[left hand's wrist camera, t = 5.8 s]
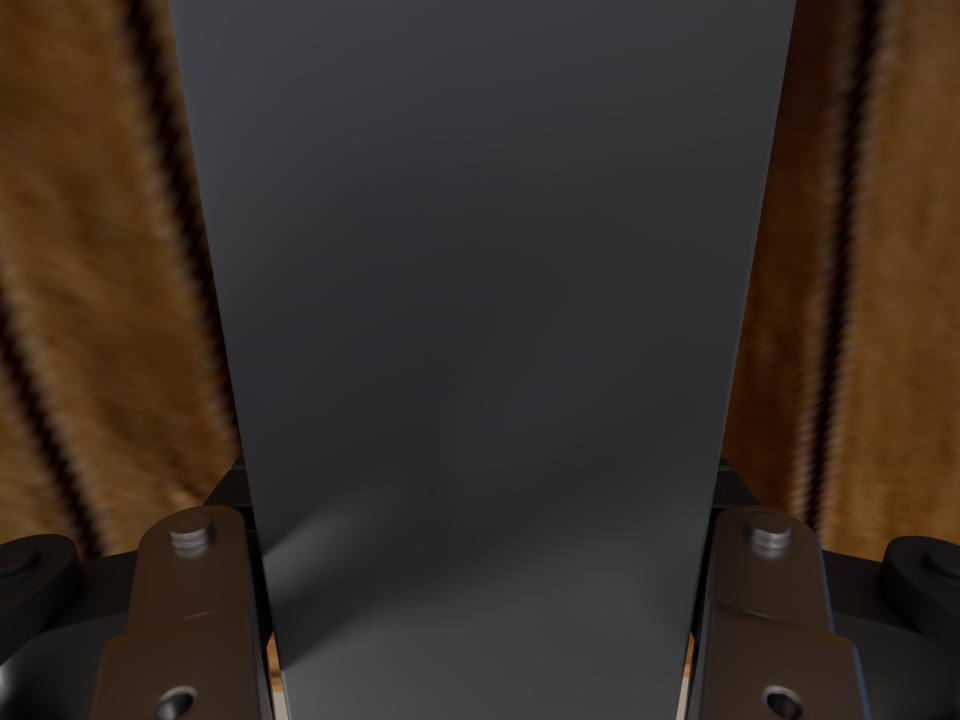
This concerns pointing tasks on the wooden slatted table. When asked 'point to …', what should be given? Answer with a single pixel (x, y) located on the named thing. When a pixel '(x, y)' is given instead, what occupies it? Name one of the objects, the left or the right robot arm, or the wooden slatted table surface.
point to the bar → (482, 331)
